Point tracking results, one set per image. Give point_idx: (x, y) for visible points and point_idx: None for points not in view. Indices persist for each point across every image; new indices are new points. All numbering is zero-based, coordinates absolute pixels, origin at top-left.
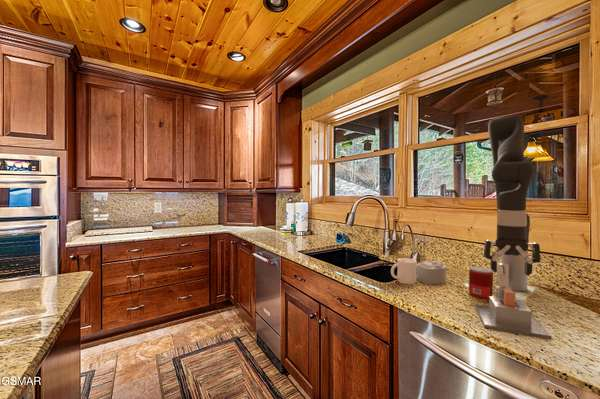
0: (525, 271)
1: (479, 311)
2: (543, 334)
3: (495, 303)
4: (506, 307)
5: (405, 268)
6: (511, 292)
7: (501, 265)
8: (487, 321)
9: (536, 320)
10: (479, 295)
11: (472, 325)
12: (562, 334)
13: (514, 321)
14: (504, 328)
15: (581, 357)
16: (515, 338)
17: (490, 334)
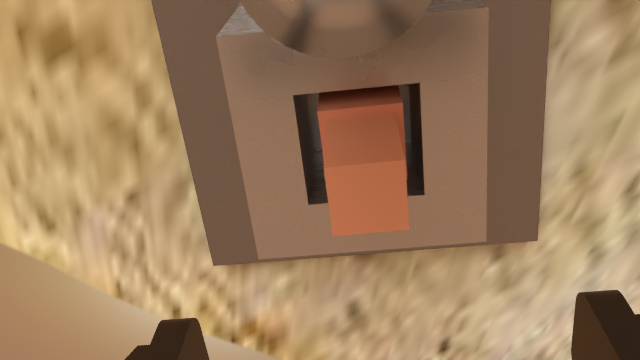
0: (590, 342)
1: (175, 76)
2: (501, 241)
3: (259, 200)
4: (328, 244)
5: None
6: (378, 224)
7: (298, 47)
8: (227, 217)
9: (541, 37)
10: None
11: (155, 256)
12: (631, 130)
13: None
14: (311, 257)
15: None
16: (354, 298)
17: (243, 312)
